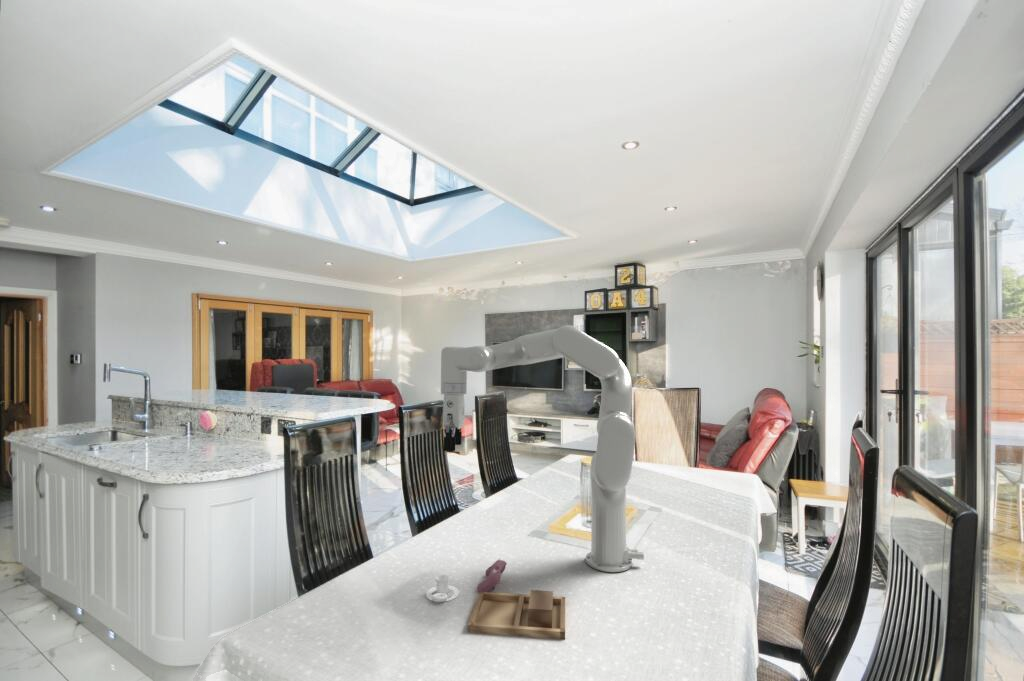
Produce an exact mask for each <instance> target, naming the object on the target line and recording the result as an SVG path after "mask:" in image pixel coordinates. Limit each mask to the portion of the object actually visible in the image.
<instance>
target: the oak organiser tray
mask: <svg viewBox="0 0 1024 681" xmlns="http://www.w3.org/2000/svg"><path fill="white" fill-rule="evenodd" d="M529 599H530V594H525V593H524V594H523V593H510V592H509V593H507V592H495V591H494V592H493V591H488V592H478V596H477V599H476V602H475V604H474V607H473V610H472V612H471V615H470V618H469V620H468V623H467V633H472V634H473V633H475V634H487V635H500V636H501V635H502V636H513V637H514V636H515V637H525V638H526V637H527V638H528V637H529V638H538V639H540V638H542V639H551V640H552V639H553V640H556V639H557V640H566V597H565V596H556V595H553V618H552V628H540V627H528V606H529Z"/></svg>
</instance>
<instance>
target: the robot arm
mask: <svg viewBox="0 0 1024 681" xmlns="http://www.w3.org/2000/svg"><path fill="white" fill-rule="evenodd" d="M440 352H441V356H440V358H441V359H440V360H441V361H440V362H441V363H440V394H441V395H443V404H442V405H443V406H442V407H443V408H442V426H443V427H442V428H443V429H444V434H443V451H444V452H455V451H456V446H461V445H462V436H463V435H462V432H463V431H462V428H463V427H464V426H465V425H466V412H465V410H466V409H465V407H466V405H465V395H467V385H468V384H467V381H468V380H467V378H468V377H467V376H468V374H467V373H468V372H472V373H473V372H474V373H483V372H488V371H493V370H497V369H503V368H508V367H514V366H526V365H533V364H536V363H541V362H542V363H543V362H547V361H551V360H558V359H563V358H565V359H567V360H569V361H570V362H571V363H573V364H574V365H577V366H578V367H579V368H581V369H583V370H584V371H586V372H588V373H590V374H592V375H593V377H596V378H598V379H599V381H600V385H601V393H600V395H601V396H600V404H599V406H600V407H599V414H598V419H597V423H596V432H597V436H598V437H597V446H596V451H595V453H594V454H592V457H591V460H590V483H591V484H590V485H591V488H590V490H591V492H590V494H591V497H590V498H591V501H590V502H591V505H590V506H591V507H590V508H591V514H590V515H591V517H590V518H591V519H590V520H591V526H590V527H591V528H590V530H591V532H590V536H591V537H590V538H591V539H590V540H591V543H590V544H591V545H590V546H591V549H590V551H589V552H588V553H587V554H586V555H585V562H586V564H587V565H588V566H589V567H591V568H593V569H595V570H597V571H601V572H607V573H621V572H625V571H628V570H630V568H632V566H633V560H645V558H644V556H645V554H644V552H642V551H639V550H638V549H636V548H632V549H631V548H630V547H628V546H627V489H626V488H627V487H626V486H627V485H628V484H629V483H630V480H631V476H632V468H633V462H634V453H635V444H636V430H635V429H636V428H635V426H634V424H633V422H632V420H631V412H632V400H633V381H632V376H631V374H630V372H629V370H628V368H627V366H626V365H625V362H623V361H622V359H620V357H619V354H618V353H617V352H616V351H615V350H614V349H613V348H611V347H609V346H608V345H606V344H604V343H603V342H601V341H599V340H598V339H596V338H594V337H592V336H590V335H588V334H587V333H586V332H584V331H582V330H581V329H580V328H577V327H576V326H574V325H571V324H567V325H562V326H560V327H559V328H554V329H549V330H545V331H539V332H535V333H528V334H525V335H521V336H518V337H516V338H515V339H513V340H512V339H511V340H509V341H504V342H501V343H496V344H492V345H486V346H484V345H483V346H482V345H480V346H479V345H475V346H474V345H473V346H467V347H463V346H445V347H443V348H442V349H441V351H440Z"/></svg>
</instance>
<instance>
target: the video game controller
mask: <svg viewBox="0 0 1024 681" xmlns="http://www.w3.org/2000/svg"><path fill="white" fill-rule="evenodd" d="M507 563H508V562H507V561H505V560H503V559H502V560H501V558H498V560H495V562H494V563H492V564H491V566H489V567H488V568H487V569H486V570H485V576H486V578H485V579H483V580H482V581H480V582H479V583H478V584H477V586H476V591H477V592H478V593H480V592H491V590H495V587H496V586H497V584H498V585H500V584H501V583H502V581H503V579H502V578H501V577H502V574H503V573H504V572H505V569H506V566H507V565H508V564H507Z"/></svg>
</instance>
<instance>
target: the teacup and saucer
mask: <svg viewBox="0 0 1024 681" xmlns="http://www.w3.org/2000/svg"><path fill="white" fill-rule="evenodd" d="M435 582H436V583H435V584H436V586H433V587H431V588H430V589H428V590H427V591H426V592H425V596H426V599H428V600H429V601H431V602H435V603H444V602H450V601H453V600H454V599H456V598H458V596H459V595H460V590H459V588H458V587H456V586H453V585H450V577H449V575H447V574H446V575H445V574H440V575H438V576H437V577H436V578H435ZM449 590H452V591H453V595H452V596H451V597H449V596H448V591H449ZM435 591H436V592H437V593H434V594H432V593H433V592H435Z"/></svg>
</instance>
